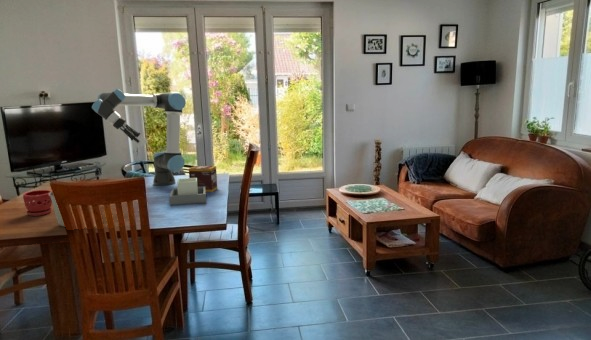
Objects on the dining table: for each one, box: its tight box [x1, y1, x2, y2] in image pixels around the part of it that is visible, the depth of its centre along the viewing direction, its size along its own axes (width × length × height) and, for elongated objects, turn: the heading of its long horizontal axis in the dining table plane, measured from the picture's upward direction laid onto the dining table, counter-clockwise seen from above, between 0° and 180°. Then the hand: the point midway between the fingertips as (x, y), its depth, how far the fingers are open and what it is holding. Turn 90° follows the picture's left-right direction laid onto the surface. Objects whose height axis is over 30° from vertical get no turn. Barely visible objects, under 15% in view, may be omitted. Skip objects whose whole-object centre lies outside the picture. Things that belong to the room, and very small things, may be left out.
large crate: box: [168, 187, 207, 207], centre depth 234 cm, size 20×20×6 cm
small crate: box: [176, 177, 198, 195], centre depth 233 cm, size 11×11×12 cm
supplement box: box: [188, 165, 218, 193], centre depth 259 cm, size 10×15×16 cm
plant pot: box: [22, 189, 53, 217], centre depth 211 cm, size 13×13×12 cm
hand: (145, 144), depth 242 cm, fingers open, 13 cm apart
